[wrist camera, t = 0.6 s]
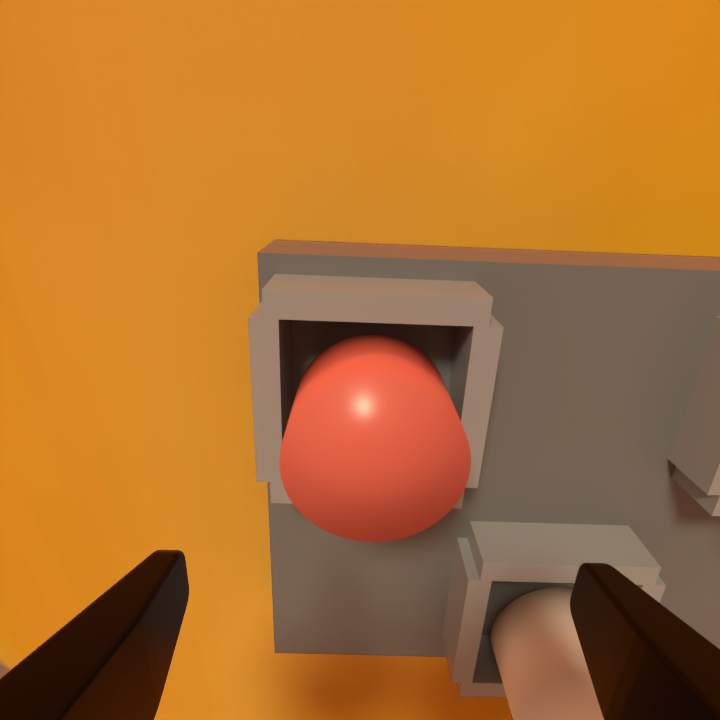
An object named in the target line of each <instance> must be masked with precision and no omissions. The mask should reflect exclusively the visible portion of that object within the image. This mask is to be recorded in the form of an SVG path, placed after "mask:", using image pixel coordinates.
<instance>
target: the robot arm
mask: <svg viewBox="0 0 720 720" xmlns="http://www.w3.org/2000/svg"><path fill="white" fill-rule="evenodd" d="M188 597H189V584H188V576H187V569H186V561H185V556H184V554H183V552H182V551H179V550H157V551H155V552H153V553H152V554H151V555H150V556H148V557H147V558H146V559H145V560H144V561H142V562H141V563H140V564H139V565H137V566H136V567H135V568H134V569H133V570H131V571H130V572H129V573H128V574H127V575H125V576H124V577H123V578H122V579H121V580H119V581H118V582H117V583H116V584H114V585H113V586H112V587H111V588H110V589H108V590H107V591H106V592H105V593H104V594H102V595H101V596H100V597H99V598H97V599H96V600H95V601H94V602H93V603H91V604H90V605H89V606H88V607H87V608H85V609H84V610H83V611H82V612H81V613H79V614H78V615H77V616H76V617H74V618H73V619H72V620H71V621H70V622H68V623H67V624H66V625H65V626H64V627H62V628H61V629H60V630H59V631H58V632H56V633H55V634H54V635H53V636H51V637H50V638H49V639H48V640H47V641H45V642H44V643H43V644H42V645H41V646H39V647H38V648H37V649H36V650H34V651H33V652H32V653H31V654H30V655H28V656H27V657H26V658H25V659H24V660H22V661H21V662H20V663H19V664H18V665H16V666H15V667H14V668H13V669H11V670H10V671H9V672H8V673H7V674H5V675H4V676H3V677H2V678H1V679H0V720H154V718H155V715H156V712H157V709H158V706H159V703H160V700H161V696H162V693H163V689H164V686H165V682H166V679H167V675H168V671H169V668H170V664H171V660H172V657H173V653H174V650H175V646H176V642H177V639H178V635H179V632H180V628H181V624H182V621H183V617H184V614H185V610H186V606H187V602H188ZM570 611H571V615H572V619H573V622H574V625H575V628H576V632H577V635H578V638H579V642H580V645H581V648H582V651H583V655H584V658H585V661H586V664H587V668H588V671H589V674H590V677H591V681H592V684H593V687H594V690H595V694H596V697H597V700H598V703H599V706H600V709H601V712H602V715H603V718H604V720H720V649H719V648H718V647H716V646H715V645H714V644H712V643H711V642H710V641H708V640H707V639H706V638H705V637H703V636H702V635H701V634H699V633H698V632H697V631H696V630H694V629H693V628H692V627H690V626H689V625H688V624H686V623H685V622H684V621H683V620H681V619H680V618H679V617H677V616H676V615H675V614H673V613H672V612H671V611H670V610H668V609H667V608H666V607H664V606H663V605H662V604H661V603H659V602H658V601H657V600H655V599H654V598H653V597H651V596H650V595H649V594H648V593H646V592H645V591H644V590H642V589H641V588H640V587H638V586H637V585H636V584H635V583H633V582H632V581H631V580H629V579H628V578H627V577H626V576H624V575H623V574H622V573H620V572H619V571H618V570H616V569H615V568H614V567H612V566H611V565H609V564H606V563H583V564H581V566H580V567H579V569H578V573H577V576H576V579H575V583H574V586H573V590H572V593H571V597H570Z"/></svg>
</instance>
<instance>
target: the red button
mask: <svg viewBox="0 0 720 720" xmlns="http://www.w3.org/2000/svg"><path fill="white" fill-rule="evenodd" d="M279 466H280V475H281V479H282V483H283V486H284V488H285V490H286V493H287V495H288V497H289V498H290V500H291V501H292V503H293V504H294V506H295V507H296V508H297V509H298V510H299V512H300V513H301V514H302V515H304V516H305V517H306V518H307V519H308V520H309V521H311V522H312V523H313V524H315V525H316V526H318V527H320V528H321V529H323V530H325V531H327V532H329V533H332V534H334V535H336V536H340V537H343V538H346V539H351V540H356V541H365V542H383V541H391V540H397V539H401V538H405V537H408V536H411V535H414V534H417V533H419V532H421V531H423V530H425V529H427V528H428V527H430V526H432V525H433V524H435V523H436V522H438V521H439V520H440V519H441V518H443V517H444V516H445V515H446V514H447V513H448V512H449V511H450V510H451V509H452V508H453V507H454V505H455V504H456V503H457V501H458V500H459V498H460V497H461V495H462V493H463V491H464V489H465V487H466V484H467V482H468V478H469V474H470V467H471V453H470V446H469V442H468V438H467V436H466V433H465V431H464V428H463V426H462V424H461V421H460V419H459V416H458V414H457V412H456V409H455V407H454V404H453V402H452V400H451V397H450V395H449V392H448V390H447V388H446V385H445V383H444V380H443V378H442V376H441V374H440V372H439V370H438V369H437V367H436V365H435V364H434V363H433V362H432V361H431V359H430V358H429V357H428V356H427V355H426V354H424V353H423V352H422V351H421V350H419V349H418V348H416V347H415V346H413V345H411V344H409V343H407V342H405V341H403V340H400V339H397V338H393V337H389V336H382V335H362V336H356V337H352V338H348V339H345V340H342V341H340V342H338V343H335V344H333V345H332V346H330V347H328V348H327V349H325V350H324V351H323V352H321V353H320V354H319V355H318V356H317V357H316V358H315V359H314V360H313V361H312V362H311V363H310V365H309V366H308V367H307V369H306V370H305V372H304V374H303V376H302V378H301V380H300V383H299V386H298V389H297V392H296V396H295V399H294V403H293V406H292V410H291V413H290V417H289V420H288V424H287V427H286V431H285V434H284V438H283V441H282V445H281V450H280V459H279Z"/></svg>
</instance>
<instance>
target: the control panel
mask: <svg viewBox="0 0 720 720" xmlns="http://www.w3.org/2000/svg"><path fill="white" fill-rule="evenodd" d="M258 275H259V298H260V304H259V305H258V306H257V308H256V309H255V310H254V311H253V313H252V314H251V315H250V317H249V318H248V324H249V343H250V361H251V380H252V399H253V417H254V436H255V454H256V473H257V481H260V482H268V505H269V528H270V551H271V574H272V597H273V620H274V642H275V653H303V654H345V655H387V656H428V657H447V662H448V667H449V673H450V678H451V682H453V683H457V687H458V693H459V696H462V697H506V693H505V690H504V686H503V683H502V679H501V676H500V672H499V668H498V665H497V661H496V658H495V654H494V651H493V647H492V644H491V637H490V635H491V628H492V625H493V623H494V621H495V619H496V617H497V616H498V614H499V613H500V612H501V611H502V610H503V609H504V608H505V607H506V606H507V605H508V604H509V603H511V602H512V601H514V600H515V599H517V598H519V597H521V596H523V595H525V594H527V593H530V592H533V591H536V590H540V589H544V588H551V587H570V588H573V586H574V583H575V579H576V576H577V573H578V569H579V567H580V566H581V564H583V563H606V564H609V565H611V566H612V567H614V568H615V569H616V570H618V571H619V572H620V573H622V574H623V575H624V576H626V577H627V578H628V579H629V580H631V581H632V582H633V583H635V584H636V585H637V586H638V587H640V588H641V589H642V590H644V591H645V592H646V593H648V594H649V595H650V596H651V597H653V598H654V599H655V600H657V601H658V602H659V603H661V604H662V605H663V606H664V607H666V608H667V609H668V610H670V611H671V612H672V613H673V614H675V615H676V616H677V617H679V618H680V619H681V620H683V621H684V622H685V623H686V624H688V625H689V626H690V627H692V628H693V629H694V630H696V631H697V632H698V633H699V634H701V635H702V636H703V637H705V638H706V639H707V640H708V641H710V642H711V643H712V644H714V645H715V646H716V647H718V648H719V649H720V257H702V256H676V255H651V254H625V253H600V252H574V251H549V250H523V249H498V248H472V247H447V246H421V245H396V244H371V243H345V242H320V241H294V240H274V241H273V242H271V243H270V244H269V245H267V246H266V247H265V248H263V249H262V250H261V251H259V252H258ZM362 335H382V336H389V337H393V338H397V339H400V340H403V341H405V342H407V343H409V344H411V345H413V346H415V347H416V348H418V349H419V350H421V351H422V352H423V353H424V354H426V355H427V356H428V357H429V358H430V359H431V361H432V362H433V363H434V364H435V365H436V367H437V369H438V370H439V372H440V374H441V376H442V378H443V380H444V383H445V385H446V388H447V390H448V392H449V395H450V397H451V400H452V402H453V404H454V407H455V409H456V412H457V414H458V416H459V419H460V421H461V424H462V426H463V428H464V431H465V433H466V436H467V438H468V442H469V446H470V453H471V467H470V474H469V478H468V482H467V484H466V487H465V489H464V491H463V493H462V495H461V497H460V498H459V500H458V501H457V503H456V504H455V505H454V507H453V508H452V509H451V510H450V511H449V512H448V513H447V514H446V515H445V516H444V517H443V518H441V519H440V520H439V521H438V522H436V523H435V524H433V525H432V526H430V527H428V528H427V529H425V530H423V531H421V532H419V533H417V534H414V535H411V536H408V537H405V538H401V539H397V540H391V541H383V542H365V541H356V540H351V539H346V538H343V537H340V536H336V535H334V534H332V533H329V532H327V531H325V530H323V529H321V528H320V527H318V526H316V525H315V524H313V523H312V522H311V521H309V520H308V519H307V518H306V517H305V516H304V515H302V514H301V513H300V512H299V510H298V509H297V508H296V507H295V506H294V504H293V503H292V501H291V500H290V498H289V497H288V495H287V493H286V490H285V488H284V486H283V483H282V479H281V475H280V466H279V459H280V450H281V445H282V441H283V438H284V434H285V431H286V427H287V424H288V420H289V417H290V413H291V410H292V406H293V403H294V399H295V396H296V392H297V389H298V386H299V383H300V380H301V378H302V376H303V374H304V372H305V370H306V369H307V367H308V366H309V365H310V363H311V362H312V361H313V360H314V359H315V358H316V357H317V356H318V355H319V354H320V353H321V352H323V351H324V350H325V349H327V348H328V347H330V346H332V345H333V344H335V343H338V342H340V341H342V340H345V339H348V338H352V337H356V336H362Z"/></svg>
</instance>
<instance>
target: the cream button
mask: <svg viewBox="0 0 720 720" xmlns="http://www.w3.org/2000/svg"><path fill="white" fill-rule="evenodd" d="M572 590H573V588H570V587H551V588H544V589H540V590H536V591H533V592H530V593H527V594H525V595H523V596H521V597H519V598H517V599H515V600H514V601H512V602H511V603H509V604H508V605H507V606H506V607H505V608H504V609H503V610H502V611H501V612H500V613H499V614H498V616H497V617H496V619H495V621H494V623H493V625H492V628H491V635H490V637H491V644H492V647H493V651H494V654H495V658H496V661H497V665H498V668H499V672H500V676H501V679H502V683H503V686H504V690H505V693H506V697H507V700H508V704H509V707H510V711H511V714H512V718H513V720H604V718H603V715H602V712H601V709H600V706H599V703H598V700H597V697H596V694H595V690H594V687H593V684H592V681H591V677H590V674H589V671H588V668H587V664H586V661H585V658H584V655H583V651H582V648H581V645H580V642H579V638H578V635H577V632H576V628H575V625H574V622H573V619H572V615H571V611H570V597H571V593H572Z"/></svg>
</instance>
